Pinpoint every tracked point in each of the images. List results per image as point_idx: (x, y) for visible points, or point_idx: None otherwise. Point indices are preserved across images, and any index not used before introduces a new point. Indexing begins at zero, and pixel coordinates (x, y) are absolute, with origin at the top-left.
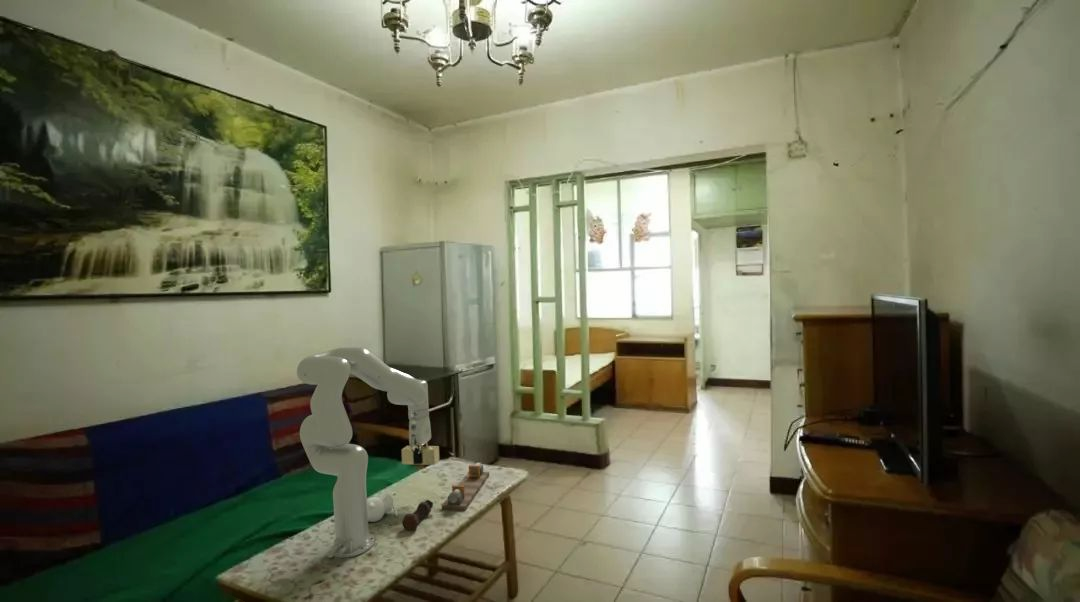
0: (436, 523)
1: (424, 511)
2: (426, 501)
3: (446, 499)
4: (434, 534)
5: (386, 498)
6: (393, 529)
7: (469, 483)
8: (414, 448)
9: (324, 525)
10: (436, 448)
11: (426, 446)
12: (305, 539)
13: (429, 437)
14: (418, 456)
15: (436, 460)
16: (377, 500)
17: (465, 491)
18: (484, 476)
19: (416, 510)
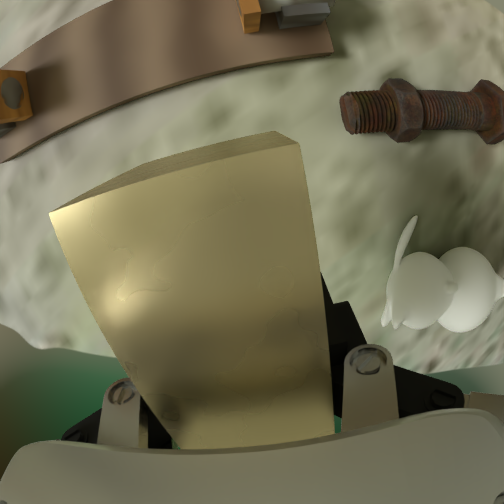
0: (426, 34)
1: (426, 91)
2: (372, 116)
3: (272, 58)
4: (473, 22)
5: (451, 282)
6: (482, 170)
7: (80, 67)
8: (494, 409)
9: (451, 364)
10: (156, 175)
11: (165, 393)
12: (495, 347)
13: (65, 482)
14: (360, 335)
15: (217, 144)
16: (488, 289)
17: (162, 23)
18: (13, 64)
19: (454, 117)
